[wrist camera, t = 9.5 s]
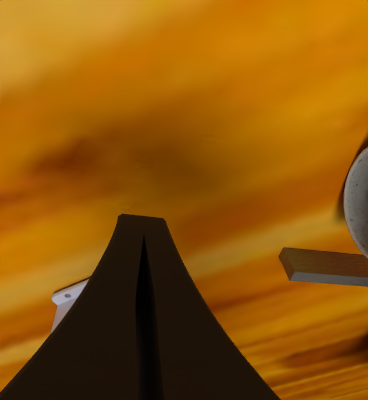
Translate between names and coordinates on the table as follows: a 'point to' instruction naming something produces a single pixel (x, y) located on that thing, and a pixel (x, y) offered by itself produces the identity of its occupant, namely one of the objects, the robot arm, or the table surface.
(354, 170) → the ceramic mug
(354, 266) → the coupler cradle
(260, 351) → the table surface
